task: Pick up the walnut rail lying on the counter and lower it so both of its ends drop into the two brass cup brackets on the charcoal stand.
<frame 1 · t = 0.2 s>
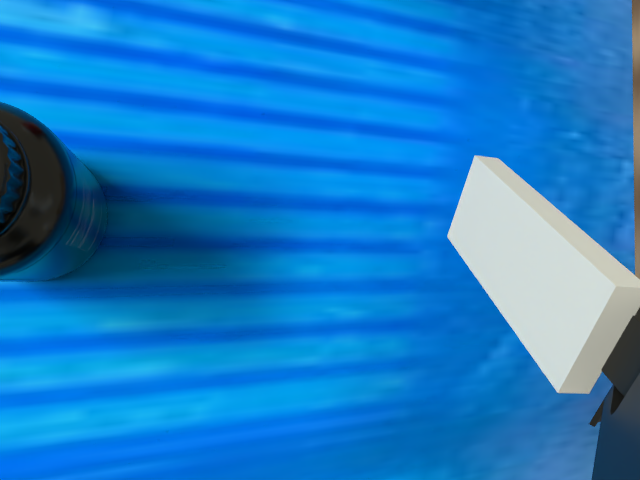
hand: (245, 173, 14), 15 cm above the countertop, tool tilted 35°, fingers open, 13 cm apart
supplement bottle: (39, 216, 28), on the countertop
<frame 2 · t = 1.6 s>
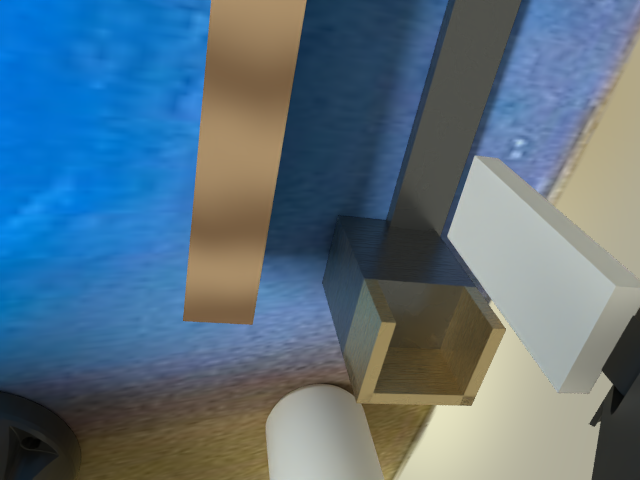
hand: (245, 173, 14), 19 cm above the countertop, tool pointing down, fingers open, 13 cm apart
bracket stand: (425, 81, 34), on the countertop
rail: (243, 49, 31), on the countertop
alcohol: (313, 413, 47), on the countertop
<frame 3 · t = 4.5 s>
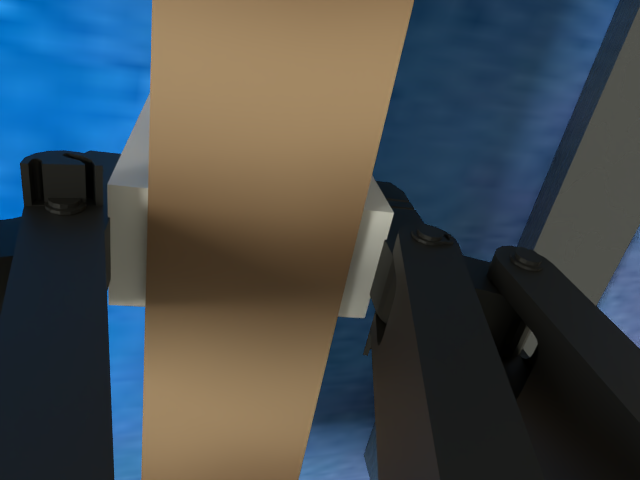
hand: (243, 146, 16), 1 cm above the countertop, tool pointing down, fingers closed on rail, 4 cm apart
bracket stand: (547, 173, 20), on the countertop
rail: (241, 134, 17), on the countertop, touching gripper
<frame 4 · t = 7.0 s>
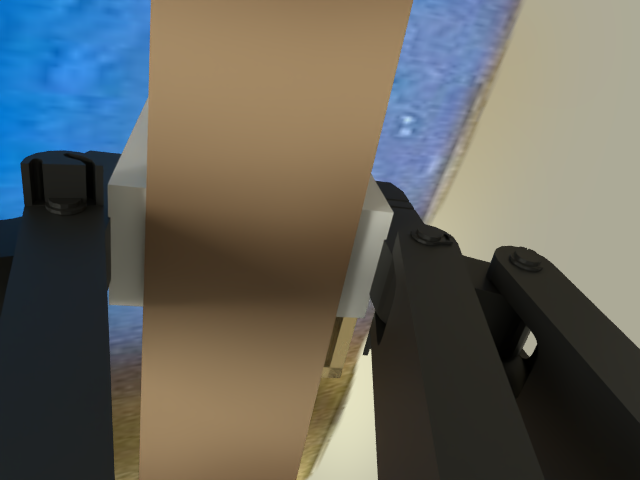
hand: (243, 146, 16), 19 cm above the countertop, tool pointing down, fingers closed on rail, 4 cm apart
bracket stand: (303, 55, 34), on the countertop
rail: (240, 133, 17), point 18 cm above the countertop, touching gripper
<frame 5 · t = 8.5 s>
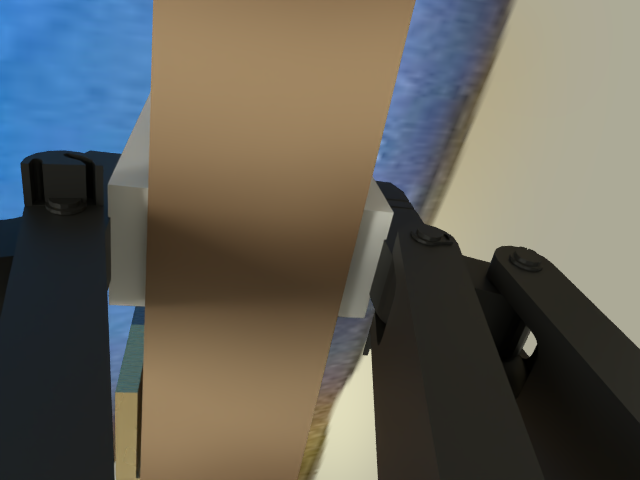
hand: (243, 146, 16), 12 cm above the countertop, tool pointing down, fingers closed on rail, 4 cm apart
bracket stand: (234, 65, 26), on the countertop
rail: (242, 133, 17), point 10 cm above the countertop, touching gripper
when the fingers open (11 cm above the countertop, at t = 9.6 s): rail drops 1 cm, resting on bracket stand.
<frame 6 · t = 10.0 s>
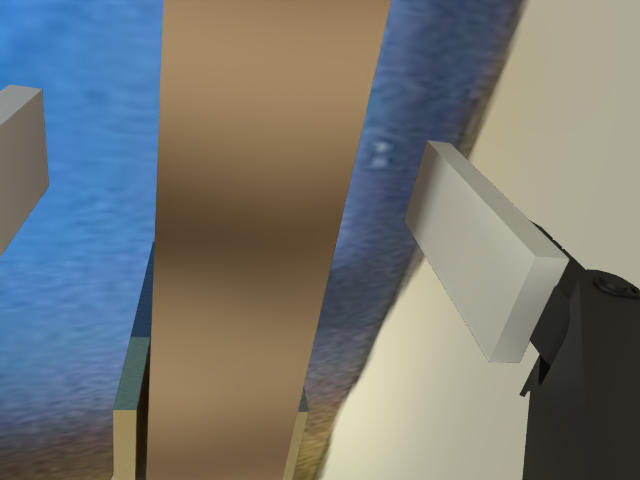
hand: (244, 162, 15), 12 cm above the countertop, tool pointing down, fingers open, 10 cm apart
bracket stand: (237, 68, 25), on the countertop
rail: (241, 120, 19), point 8 cm above the countertop, touching bracket stand
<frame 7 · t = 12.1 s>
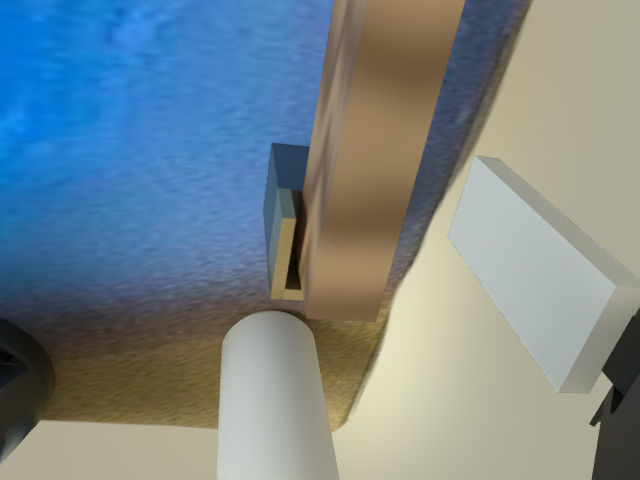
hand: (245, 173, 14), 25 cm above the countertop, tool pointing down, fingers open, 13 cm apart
bracket stand: (341, 11, 36), on the countertop
rail: (364, 32, 30), point 8 cm above the countertop, touching bracket stand
alcohol: (268, 340, 51), on the countertop
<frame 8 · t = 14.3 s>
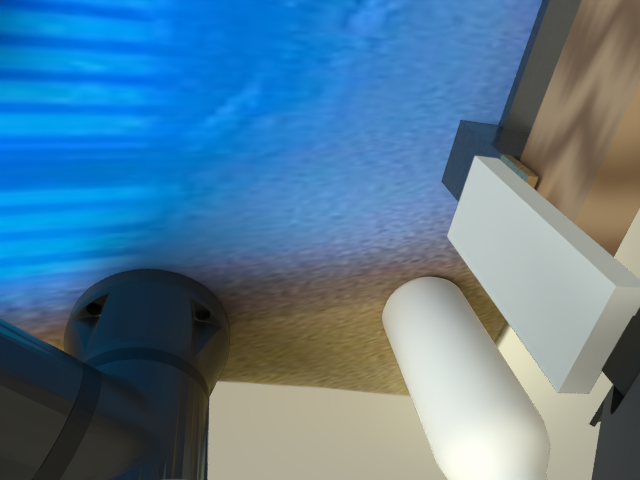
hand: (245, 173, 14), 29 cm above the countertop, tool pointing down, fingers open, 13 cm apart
bracket stand: (541, 3, 42), on the countertop
rail: (603, 18, 35), point 8 cm above the countertop, touching bracket stand
alcohol: (420, 305, 56), on the countertop
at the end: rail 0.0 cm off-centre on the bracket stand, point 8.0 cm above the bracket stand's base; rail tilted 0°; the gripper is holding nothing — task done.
